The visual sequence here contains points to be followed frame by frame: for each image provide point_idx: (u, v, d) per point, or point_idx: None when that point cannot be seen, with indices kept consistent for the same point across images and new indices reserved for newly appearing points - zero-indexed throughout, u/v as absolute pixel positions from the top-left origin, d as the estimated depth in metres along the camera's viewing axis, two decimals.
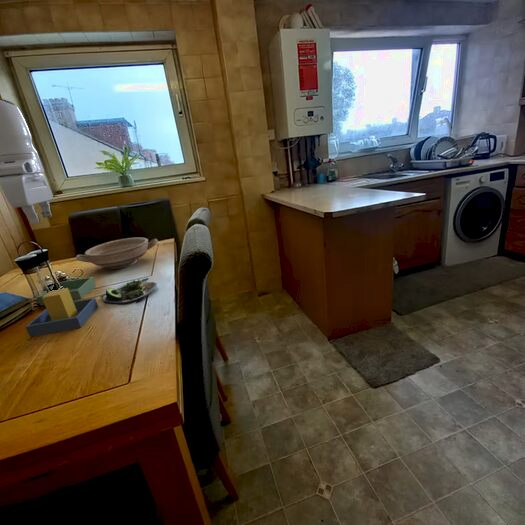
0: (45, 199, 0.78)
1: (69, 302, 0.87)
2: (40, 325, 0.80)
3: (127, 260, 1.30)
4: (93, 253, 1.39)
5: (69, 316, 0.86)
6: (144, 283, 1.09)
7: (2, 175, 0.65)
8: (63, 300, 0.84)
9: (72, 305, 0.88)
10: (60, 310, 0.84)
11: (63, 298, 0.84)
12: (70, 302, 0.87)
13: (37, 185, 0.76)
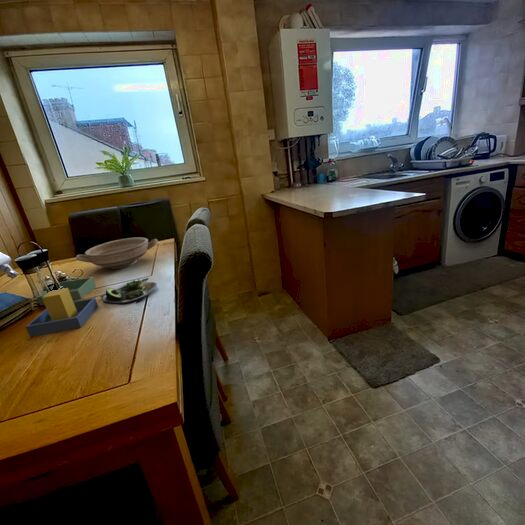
0: None
1: (69, 302, 0.87)
2: (40, 325, 0.80)
3: (127, 260, 1.30)
4: (93, 253, 1.39)
5: (69, 316, 0.86)
6: (144, 283, 1.09)
7: None
8: (63, 300, 0.84)
9: (72, 305, 0.88)
10: (60, 310, 0.84)
11: (63, 298, 0.84)
12: (70, 302, 0.87)
13: None
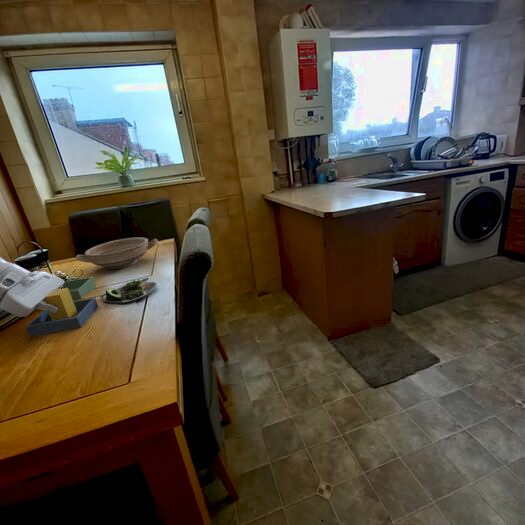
0: (52, 289, 0.87)
1: (69, 302, 0.87)
2: (40, 325, 0.80)
3: (127, 260, 1.30)
4: (93, 253, 1.39)
5: (69, 316, 0.86)
6: (144, 283, 1.09)
7: None
8: (63, 300, 0.84)
9: (72, 305, 0.88)
10: (60, 310, 0.84)
11: (63, 298, 0.84)
12: (70, 302, 0.87)
13: (37, 284, 0.84)
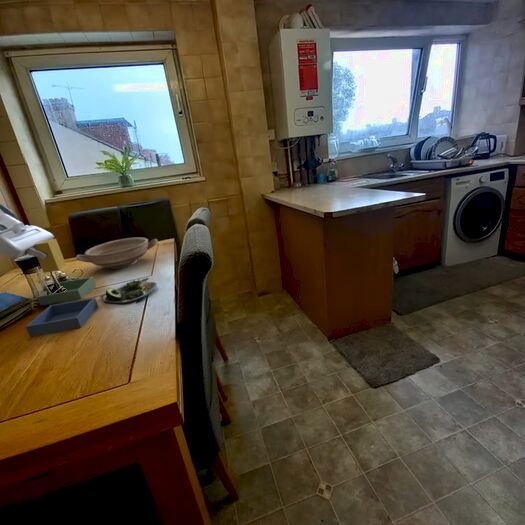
0: (42, 239, 0.95)
1: (57, 251, 0.96)
2: (40, 325, 0.80)
3: (127, 260, 1.30)
4: (93, 253, 1.39)
5: (57, 264, 0.95)
6: (144, 283, 1.09)
7: None
8: (51, 248, 0.93)
9: (60, 255, 0.97)
10: (49, 257, 0.93)
11: (51, 247, 0.93)
12: (58, 251, 0.96)
13: (27, 234, 0.93)
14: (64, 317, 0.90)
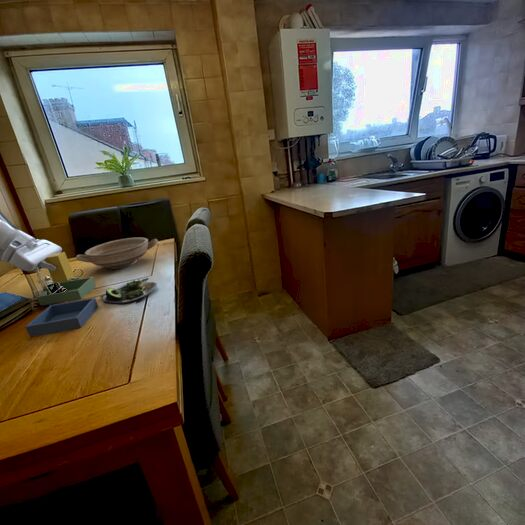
0: (52, 253, 1.05)
1: (66, 263, 1.05)
2: (40, 325, 0.80)
3: (127, 260, 1.30)
4: (93, 253, 1.39)
5: (66, 275, 1.04)
6: (144, 283, 1.09)
7: (9, 258, 0.93)
8: (60, 260, 1.02)
9: (68, 267, 1.07)
10: (59, 269, 1.03)
11: (61, 260, 1.03)
12: (66, 263, 1.06)
13: (39, 248, 1.03)
14: (64, 317, 0.90)
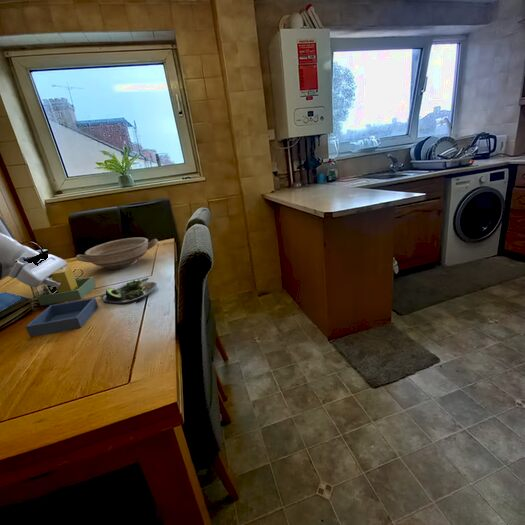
0: (57, 267, 1.07)
1: (72, 279, 1.08)
2: (40, 325, 0.80)
3: (127, 260, 1.30)
4: (93, 253, 1.39)
5: (72, 290, 1.06)
6: (144, 283, 1.09)
7: (16, 275, 0.95)
8: (67, 276, 1.05)
9: (74, 282, 1.09)
10: (65, 285, 1.05)
11: (67, 275, 1.05)
12: (72, 278, 1.08)
13: (45, 263, 1.05)
14: (64, 317, 0.90)
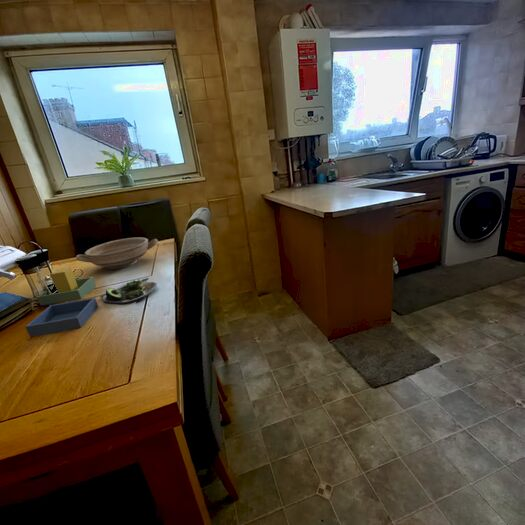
0: (14, 259, 1.04)
1: (72, 279, 1.08)
2: (40, 325, 0.80)
3: (127, 260, 1.30)
4: (93, 253, 1.39)
5: (72, 290, 1.06)
6: (144, 283, 1.09)
7: None
8: (67, 276, 1.05)
9: (74, 282, 1.09)
10: (65, 285, 1.05)
11: (67, 275, 1.05)
12: (72, 278, 1.08)
13: (1, 255, 1.01)
14: (64, 317, 0.90)
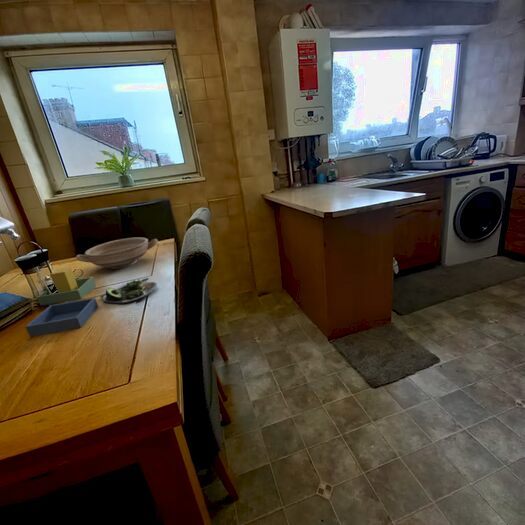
0: (1, 228, 1.00)
1: (72, 279, 1.08)
2: (40, 325, 0.80)
3: (127, 260, 1.30)
4: (93, 253, 1.39)
5: (72, 290, 1.06)
6: (144, 283, 1.09)
7: None
8: (67, 276, 1.05)
9: (74, 282, 1.09)
10: (65, 285, 1.05)
11: (67, 275, 1.05)
12: (72, 278, 1.08)
13: None
14: (64, 317, 0.90)
